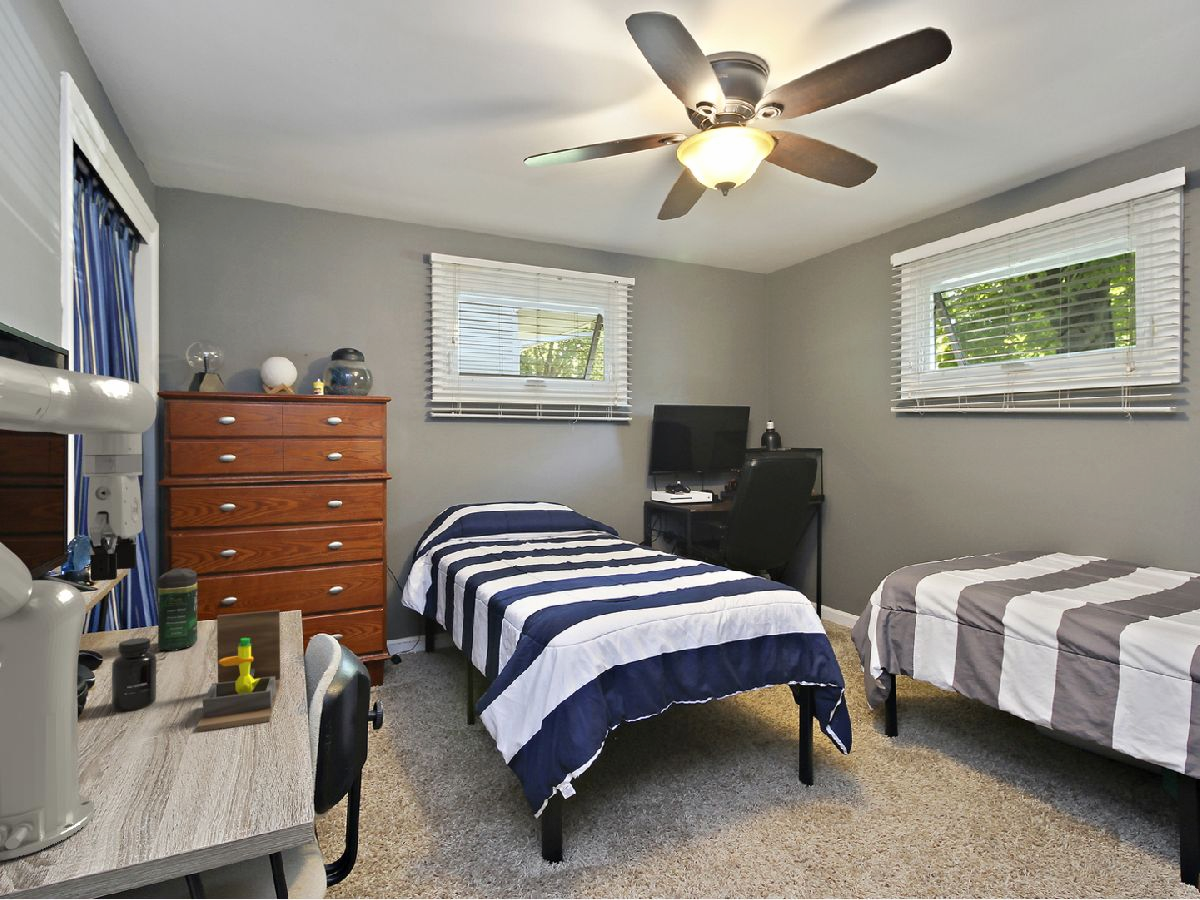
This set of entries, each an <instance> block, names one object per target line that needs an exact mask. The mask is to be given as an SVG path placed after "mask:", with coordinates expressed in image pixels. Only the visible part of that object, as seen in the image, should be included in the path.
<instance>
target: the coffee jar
mask: <svg viewBox="0 0 1200 900" xmlns="http://www.w3.org/2000/svg"><path fill="white" fill-rule="evenodd" d="M157 599H158V601H157V609H158V610H157V612H158V613H157V616H158V617H157V619H158V623H157V625H158V627H157V628H158V629H157V633H158V634H157V648H158V649H159V650H160V651H163V650H164V651H170V650H172V651H177V650H176V649H180V650H181V649H185V648H189V647H188V646H191V647H193V646H194V645H195V644H196V642H197V641H198V573H197V572H196V571H195V570H193V569H192V568H186V567H183V568H173V569H170V570H169V571H167V572H165V573H163V574H162V575H161V576H159V577H158V580H157ZM193 644H194V645H193ZM192 645H193V646H192Z"/></svg>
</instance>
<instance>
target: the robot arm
mask: <svg viewBox="0 0 1200 900" xmlns="http://www.w3.org/2000/svg"><path fill="white" fill-rule="evenodd" d="M156 417H157V404H156V401H155V398H154V396H153V394H152V393H151V392H150V391H149V389H147V387H146V386H144V385H142V384H140V383H138V382H134V381H131V380H128V379H124V378H118V377H114V376H109V375H101V374H93V373H87V372H80V371H75V370H74V371H73V370H70V369H63V368H58V367H52V366H51V367H50V366H44V365H42V366H41V365H36V364H32V363H28V362H24V361H20V360H17V359H13V358H8V357H5V356H0V430H6V431H7V430H8V431H16V432H35V433H36V432H41V433H42V432H43V433H44V432H45V433H46V432H47V433H54V434H55V433H56V434H59V435H60V434H61V435H82V467H83V469H82V471H83V474H82V475H83V476H82V477H85V478H87V477H88V478H89V482H88V488H87V489H88V494H87V519H86V520H87V532H88V533H87V534H88V538H90V540H89V545H90V547H89V554H90V555H89V561H90V565H89V568H90V569H89V570H90V575H89V576H90V580H91V582H101V581H113V580H116V579H118V570H129V569H135V568H136V567H137V537H136V536H137V535H138V534H140V533H141V532H142V531H143V525H144V524H143V512H142V498H141V497H142V495H141V486H140V481H139V476H143V437H142V436H143V433H145V432H146V431H148V430H149V429H150V428H151V427H152V426H153V424H154V422H155V419H156ZM86 615H87V604H86V599H85V597H84V595H83V593H82V592H81V591H80V589H78V588H77V587H76V586H74V585H71V584H69V583H66V582H61V581H58V580H57V581H56V580H46V579H44V580H43V579H42V580H39V579H38V580H37V579H36V580H33V577H32V574H31V572H30V570H29V568H28V567H27V566H26V564H25V563H24V562H23V561H22V560H21V559H20V557H18V555H16V554H15V553H14V552H13V551H11V549H9V548H8V547H7V546H5V544H4V543H2V542H1V541H0V861H6V860H7V861H8V860H10V859H15V858H19V856H20V857H23V855H24V856H27V855H30V854H33V853H36V852H38V851H42V850H44V848H45V849H47V848H49V847H51V846H50V845H51V844H54V845H56V844H58V843H60V842H62V841H64V840H66V839H68V838H70V837H71V836H73V835H74V833H75V834H76V833H78V832H79V831H80V830H82V829H83V828H84V827H85V826H86V825H88V824H89V822H90V821H91V820H92V818H93V817H94V816H95V815H94V814H95V804H94V801H93V800H91V799H90V798H88V797H84V796H81V795H80V791H79V790H80V789H79V788H80V787H79V785H80V783H79V728H78V727H79V726H78V725H79V723H78V721H79V719H78V715H79V714H78V665H79V654H80V647H81V642H82V641H81V639H82V637H83V631H84V627H85V621H86ZM82 827H83V828H82ZM81 828H82V829H81ZM78 830H79V831H78ZM77 831H78V832H77ZM69 836H70V837H69ZM67 837H68V838H67ZM61 840H62V841H61ZM59 841H60V842H59ZM57 842H58V843H57ZM55 843H56V844H55ZM48 846H49V847H48ZM46 847H47V848H46ZM41 849H42V850H41Z"/></svg>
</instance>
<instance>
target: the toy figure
mask: <svg viewBox="0 0 1200 900" xmlns="http://www.w3.org/2000/svg"><path fill="white" fill-rule="evenodd" d="M249 642H250V638H242V639H241V643H240V644H238V646H239V647H238V656H233V657H227V658H223V659H221V660H219V664H221V665H223V666H232V665H239V670H240V676H239V678H238V679H237V680H236V682H235V687H236V691H237V693H238V694H244V693H251V692H252V691H253V689H254V687H255V686H256V685H257V683H258V682H259V680H260V679H261V678H259V679H255V680H254V679H253V678H252V677H251V675H250V674H249V673H250V665H251V662H252V661H253V657H252V656H251V646H250V645H251V644H250V643H249Z"/></svg>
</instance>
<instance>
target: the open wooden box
mask: <svg viewBox="0 0 1200 900" xmlns="http://www.w3.org/2000/svg"><path fill="white" fill-rule="evenodd" d="M280 611H281V610H280V609H271V610H261V611H249V612H248V611H247V612H238V613H229V614H227V613H226V614H218V615H216V624H217V626H216V629H217V630H216V631H217V632H216V633H217V638H216V639H217V641H216V642H217V643H216V644H217V682H213V683H212V684H211V685H210V687H209V689H208V691H207V692H206V693H205V696H204V697H203V699H202V716H201V719H200V720H199V722H198V724H197V725H196V726H197V728H196V729H197V733H200V732H199V731H201V732H206V731H205V730H207V731H213V729H214V730H219V728H221V729H226V728H225V727H228V728H234V727H233V726H235V727H239V726H247V725H255V724H260V723H261V722H262V723H267V721H269V722H270V721H271V717H272V715H273V710H274V708H273V707H275V703H276V700H277V697H278V693H279V689H280V686H281V619H280V618H281V617H280V616H281V615H280V613H281V612H280ZM242 638H250V642H249V643H250V644H251V645H250V646H251V656H252V657H253V661H252V662H251V665H250V673H249V674H250V675H251V677H252V678H253V679H254V680H255V679H259V678H261V679H260V680H259V682H258V683H257V685H256V686H255V687H254V689H253V691H252V692H251V693H244V694H238V693H237V691H236V687H235V682H236V680H237V679H238V678H239V676H240V670H239V665H232V666H223V665H221V664H219V660H221V659H223V658H227V657H233V656H238V647H239V646H238V644H240V643H241V639H242ZM271 714H272V715H271ZM230 726H231V727H230Z"/></svg>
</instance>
